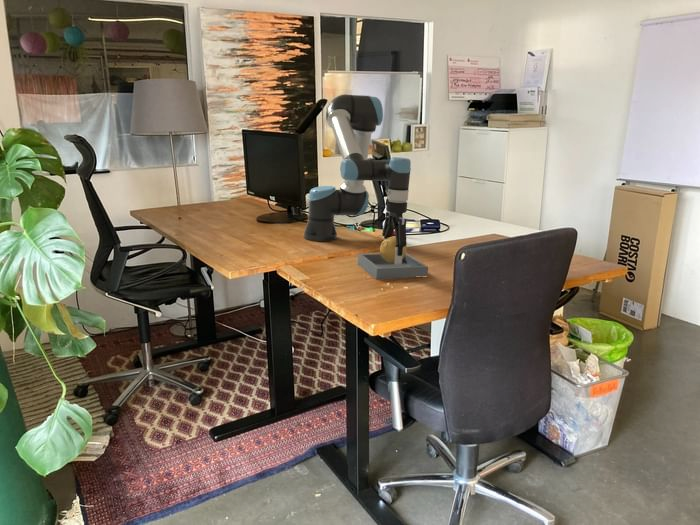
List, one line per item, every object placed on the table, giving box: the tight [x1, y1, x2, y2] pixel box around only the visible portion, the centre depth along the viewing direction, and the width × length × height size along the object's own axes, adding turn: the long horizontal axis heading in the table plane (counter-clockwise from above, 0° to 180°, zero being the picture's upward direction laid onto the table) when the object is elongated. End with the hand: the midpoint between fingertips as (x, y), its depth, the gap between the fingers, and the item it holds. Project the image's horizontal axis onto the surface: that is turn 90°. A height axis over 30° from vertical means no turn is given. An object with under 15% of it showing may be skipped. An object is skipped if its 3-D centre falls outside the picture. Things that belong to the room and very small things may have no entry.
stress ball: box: [379, 236, 407, 264], centre depth 205 cm, size 10×10×10 cm
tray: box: [357, 252, 429, 280], centre depth 206 cm, size 20×20×4 cm
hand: (392, 259), depth 206 cm, fingers closed on stress ball, 10 cm apart
